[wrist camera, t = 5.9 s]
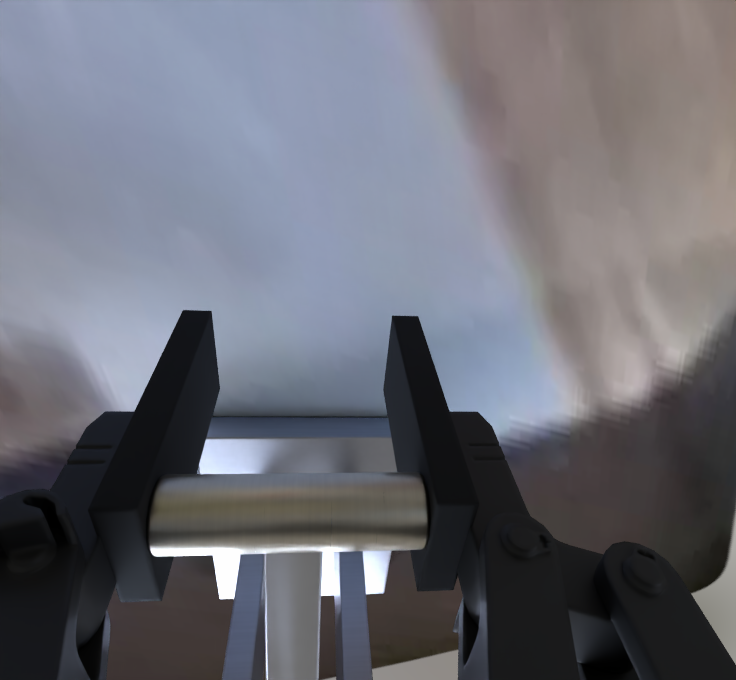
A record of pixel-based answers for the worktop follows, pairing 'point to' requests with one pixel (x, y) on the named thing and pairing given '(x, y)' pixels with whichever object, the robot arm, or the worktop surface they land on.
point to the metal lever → (288, 538)
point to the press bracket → (339, 569)
